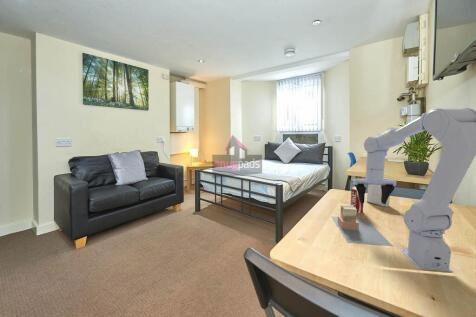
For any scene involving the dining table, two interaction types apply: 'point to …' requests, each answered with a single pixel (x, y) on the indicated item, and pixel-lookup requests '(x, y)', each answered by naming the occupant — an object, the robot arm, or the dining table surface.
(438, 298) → the dining table surface
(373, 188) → the photo printer
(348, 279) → the dining table surface
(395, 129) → the robot arm
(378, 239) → the blue-grey rectangular mat
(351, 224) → the base block
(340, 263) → the dining table surface
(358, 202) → the soda can
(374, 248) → the dining table surface
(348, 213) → the maple block
